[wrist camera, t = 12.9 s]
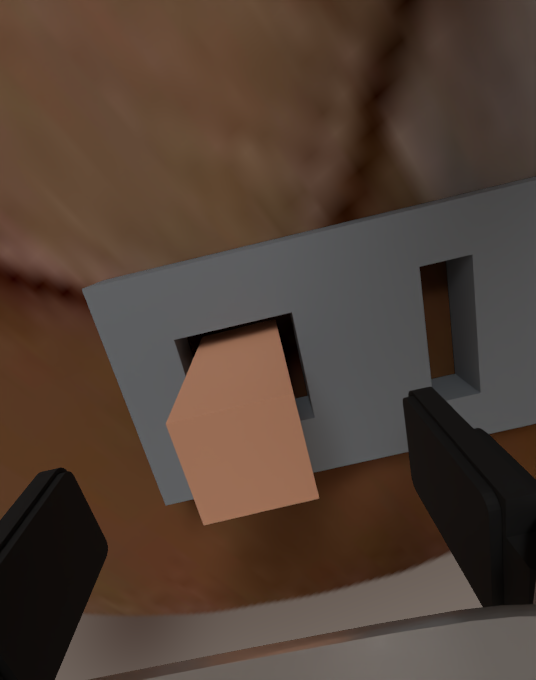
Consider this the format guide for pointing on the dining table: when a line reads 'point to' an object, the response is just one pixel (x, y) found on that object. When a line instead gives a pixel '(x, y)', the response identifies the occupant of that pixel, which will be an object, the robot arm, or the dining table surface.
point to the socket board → (345, 323)
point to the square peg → (241, 427)
